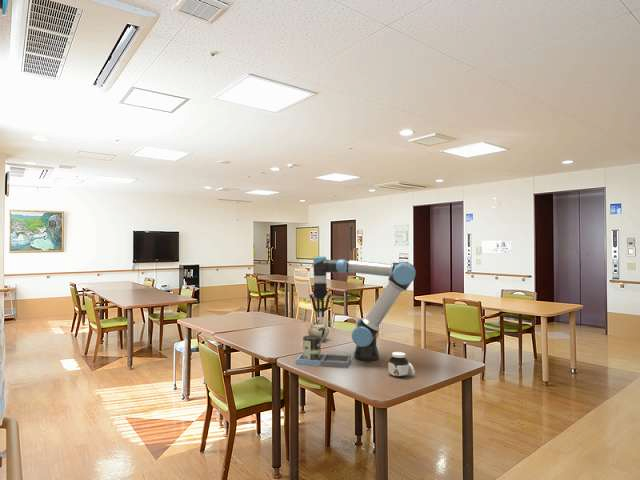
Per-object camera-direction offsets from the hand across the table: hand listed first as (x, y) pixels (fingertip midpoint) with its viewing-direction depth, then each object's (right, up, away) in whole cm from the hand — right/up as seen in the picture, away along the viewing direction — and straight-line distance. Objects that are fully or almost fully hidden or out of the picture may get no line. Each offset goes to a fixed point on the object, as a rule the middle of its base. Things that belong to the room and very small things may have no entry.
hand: (320, 322), depth 244 cm
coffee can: (-5, -22, -4) cm, 23 cm away
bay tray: (+2, -22, -6) cm, 22 cm away
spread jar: (+42, -22, -27) cm, 55 cm away
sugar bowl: (-2, -23, +50) cm, 54 cm away
